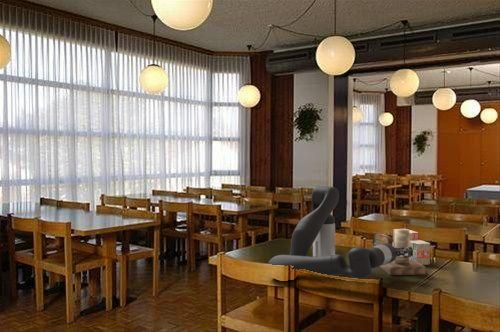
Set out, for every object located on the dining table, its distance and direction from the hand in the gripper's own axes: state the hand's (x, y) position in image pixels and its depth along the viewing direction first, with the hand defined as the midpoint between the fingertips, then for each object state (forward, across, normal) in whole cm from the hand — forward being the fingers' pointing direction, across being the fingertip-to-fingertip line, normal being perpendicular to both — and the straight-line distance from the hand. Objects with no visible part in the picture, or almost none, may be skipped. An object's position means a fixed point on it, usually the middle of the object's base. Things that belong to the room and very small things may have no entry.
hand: (400, 248), depth 188 cm
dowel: (+3, -1, -9) cm, 10 cm away
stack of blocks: (+24, -7, -10) cm, 27 cm away
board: (+3, -1, -10) cm, 10 cm away
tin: (+31, -23, -10) cm, 40 cm away
